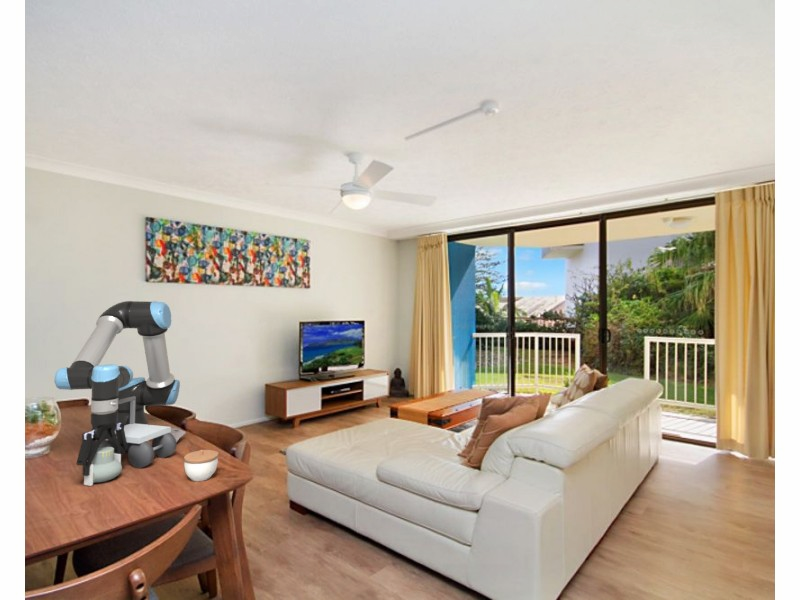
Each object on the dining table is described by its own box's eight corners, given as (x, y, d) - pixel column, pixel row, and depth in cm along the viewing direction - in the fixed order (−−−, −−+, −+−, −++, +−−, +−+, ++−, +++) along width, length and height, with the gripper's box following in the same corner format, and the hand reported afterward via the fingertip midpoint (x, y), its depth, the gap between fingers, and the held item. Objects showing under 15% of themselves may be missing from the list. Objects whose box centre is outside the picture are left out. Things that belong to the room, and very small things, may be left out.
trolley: (124, 450, 173) (125, 395, 173) (177, 456, 167) (179, 399, 167) (89, 463, 158) (91, 403, 159) (146, 470, 153) (148, 408, 153)
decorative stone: (187, 439, 188) (188, 426, 188) (173, 446, 179) (174, 432, 179) (159, 438, 190) (160, 424, 190) (144, 444, 180) (144, 430, 180)
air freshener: (124, 478, 145) (125, 448, 145) (97, 487, 138) (98, 456, 138) (107, 472, 150) (108, 443, 150) (80, 480, 143) (81, 449, 143)
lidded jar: (182, 486, 140) (183, 457, 140) (184, 474, 150) (185, 447, 150) (218, 481, 144) (218, 453, 144) (217, 470, 154) (218, 443, 154)
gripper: (82, 420, 133) (80, 493, 132) (141, 405, 154) (139, 467, 154) (62, 419, 134) (60, 491, 134) (123, 403, 156) (122, 465, 156)
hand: (102, 478), depth 144 cm, fingers closed on air freshener, 10 cm apart
